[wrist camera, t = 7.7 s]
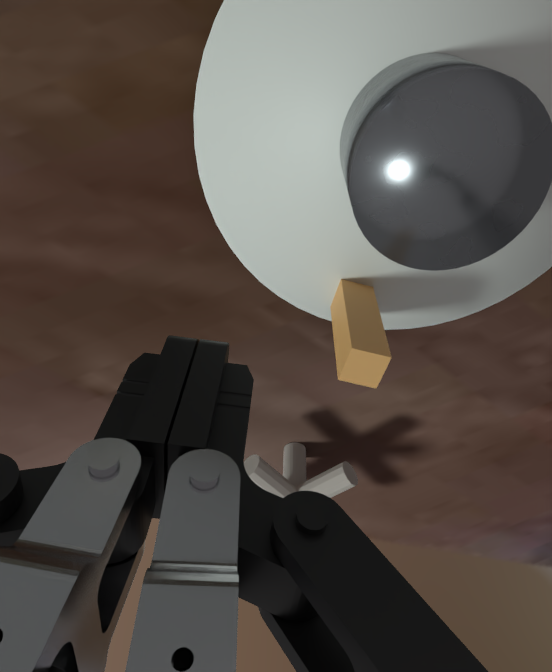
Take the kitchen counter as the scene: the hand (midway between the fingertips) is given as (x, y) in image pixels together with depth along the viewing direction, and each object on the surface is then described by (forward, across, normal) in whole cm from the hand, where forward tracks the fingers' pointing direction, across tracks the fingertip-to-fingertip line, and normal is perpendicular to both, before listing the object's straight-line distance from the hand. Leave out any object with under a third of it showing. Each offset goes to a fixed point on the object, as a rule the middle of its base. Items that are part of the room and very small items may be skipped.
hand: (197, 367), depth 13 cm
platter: (+17, -8, -3) cm, 19 cm away
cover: (+16, -8, -3) cm, 19 cm away
